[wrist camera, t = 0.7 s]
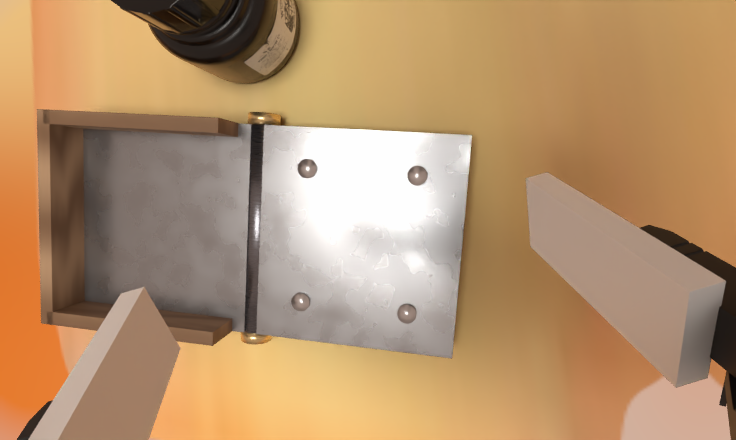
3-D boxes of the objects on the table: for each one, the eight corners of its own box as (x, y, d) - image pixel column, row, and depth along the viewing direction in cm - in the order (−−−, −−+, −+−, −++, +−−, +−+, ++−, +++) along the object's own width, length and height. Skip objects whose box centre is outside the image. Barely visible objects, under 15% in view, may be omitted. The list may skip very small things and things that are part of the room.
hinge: (96, 108, 36) (68, 103, 33) (470, 126, 31) (473, 121, 29) (97, 312, 38) (71, 322, 35) (449, 355, 33) (451, 372, 30)
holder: (71, 115, 33) (36, 109, 30) (238, 123, 31) (218, 117, 28) (74, 311, 35) (41, 323, 32) (232, 330, 33) (212, 345, 30)
